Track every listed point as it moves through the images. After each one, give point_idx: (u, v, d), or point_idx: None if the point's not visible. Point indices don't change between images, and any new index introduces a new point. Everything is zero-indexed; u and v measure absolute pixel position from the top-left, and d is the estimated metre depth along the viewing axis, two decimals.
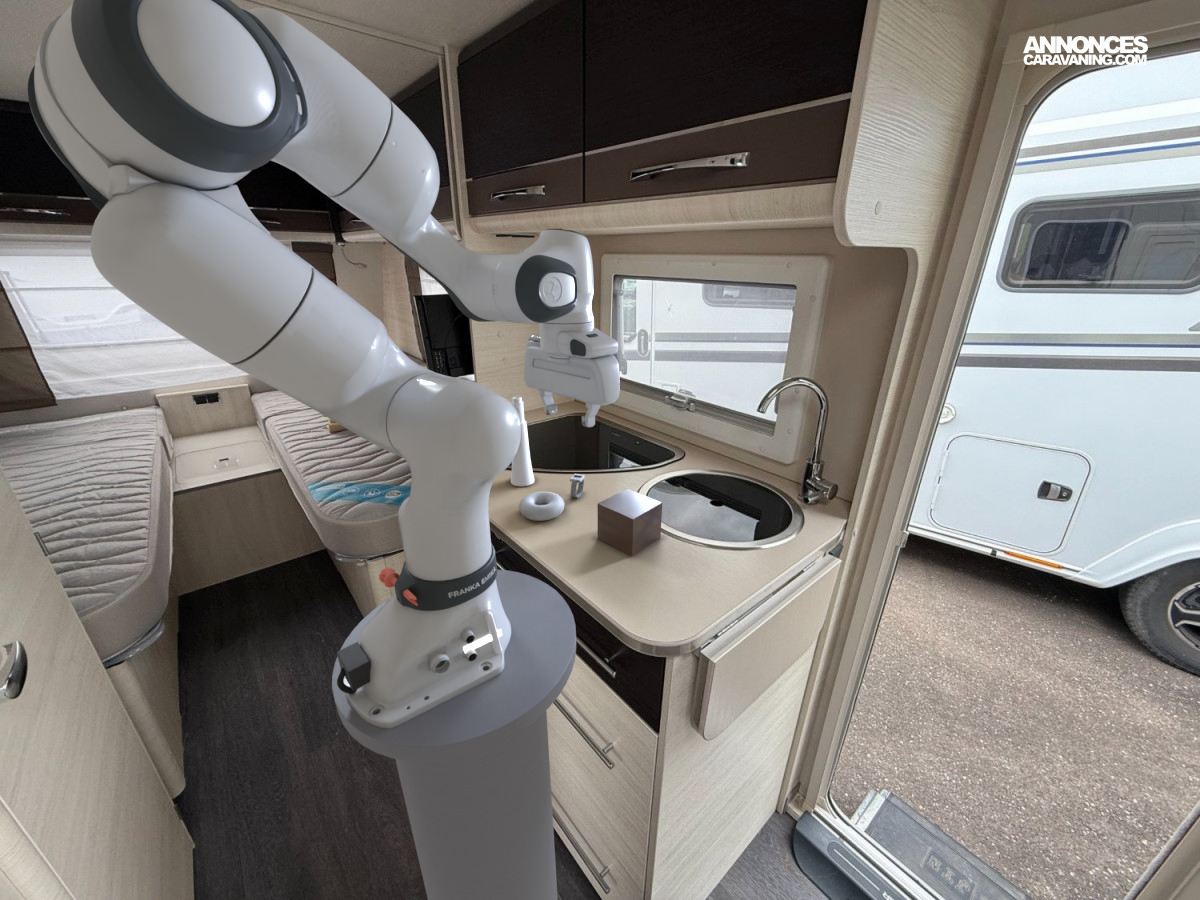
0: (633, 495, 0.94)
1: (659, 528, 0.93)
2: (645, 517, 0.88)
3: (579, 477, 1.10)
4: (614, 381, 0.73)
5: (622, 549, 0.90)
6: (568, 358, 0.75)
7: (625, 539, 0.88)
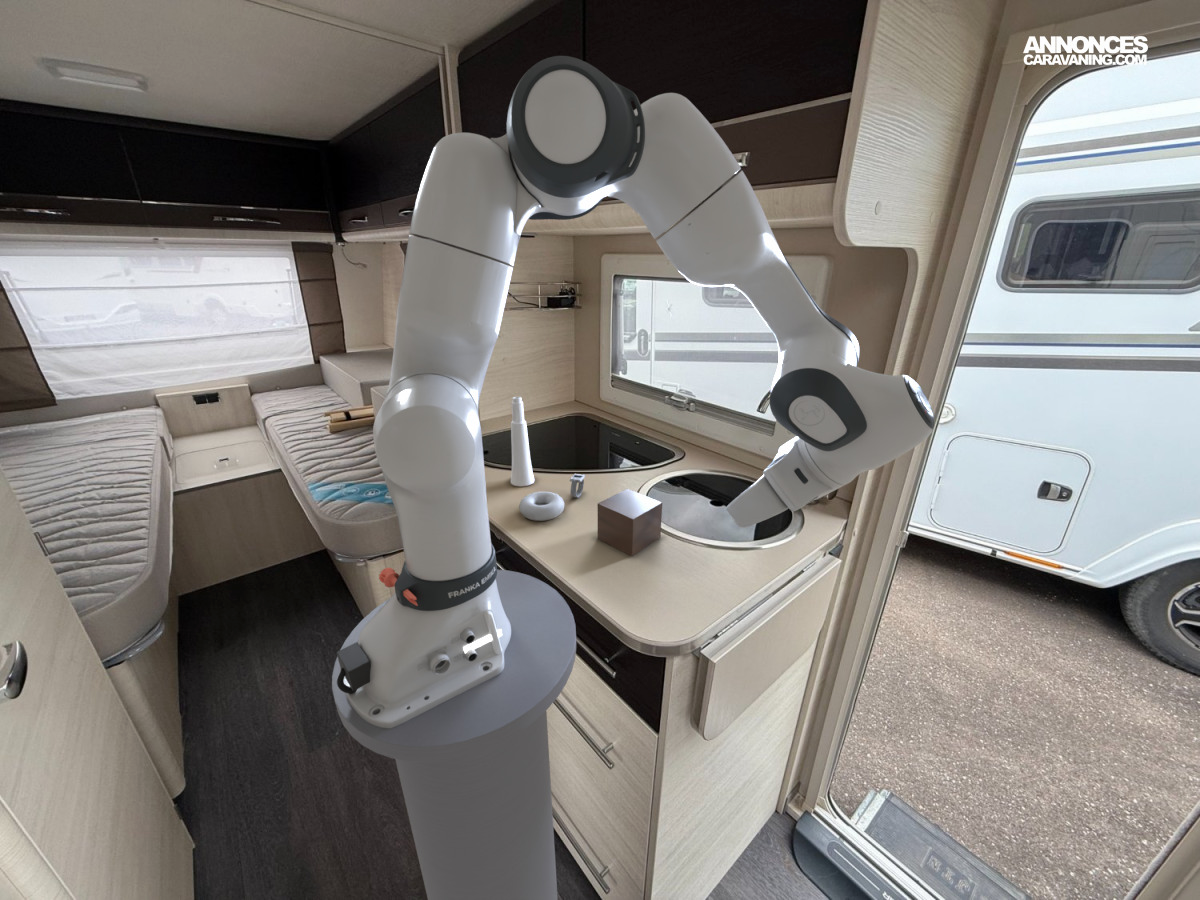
0: (633, 495, 0.94)
1: (659, 528, 0.93)
2: (645, 517, 0.88)
3: (579, 477, 1.10)
4: (752, 512, 0.62)
5: (622, 549, 0.90)
6: None
7: (625, 539, 0.88)
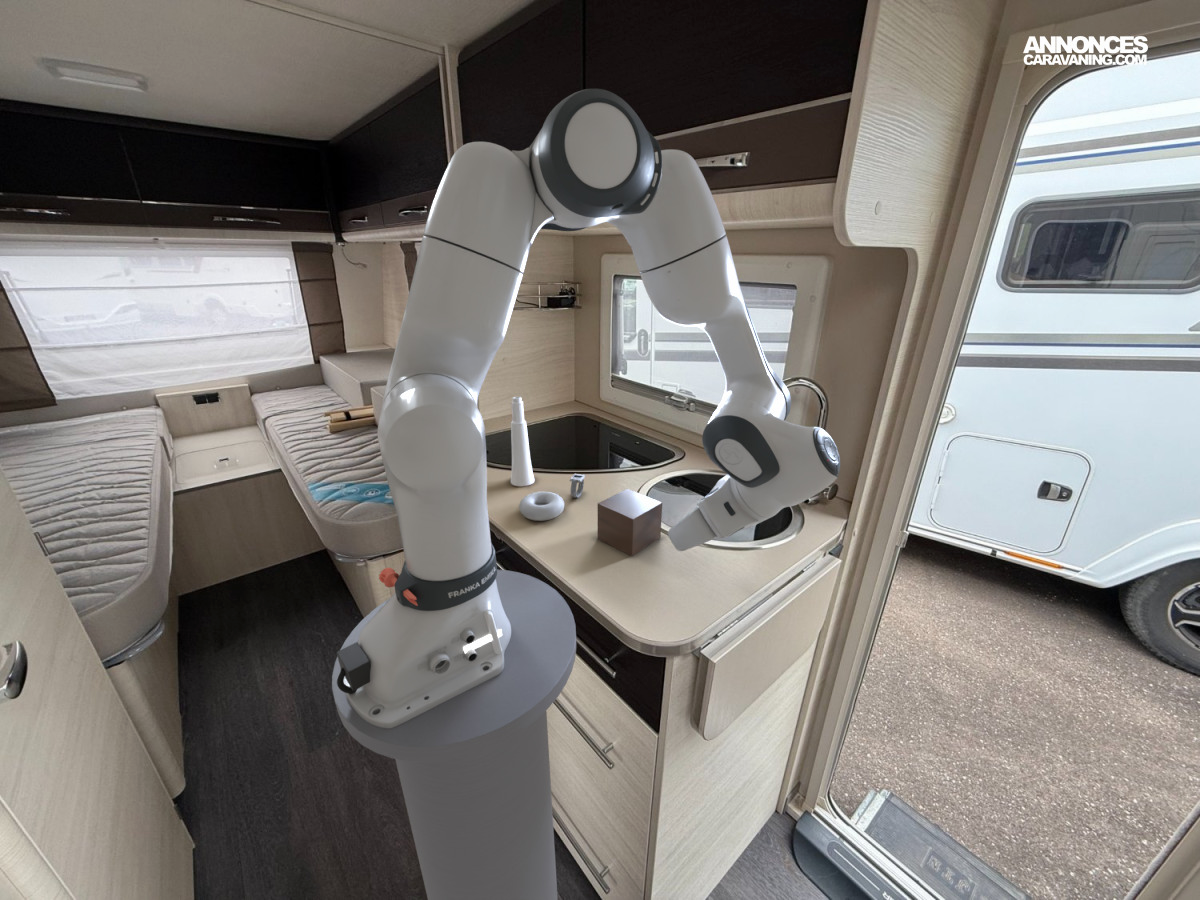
0: (633, 495, 0.94)
1: (659, 528, 0.93)
2: (645, 517, 0.88)
3: (579, 477, 1.10)
4: (687, 538, 0.70)
5: (622, 549, 0.90)
6: None
7: (625, 539, 0.88)
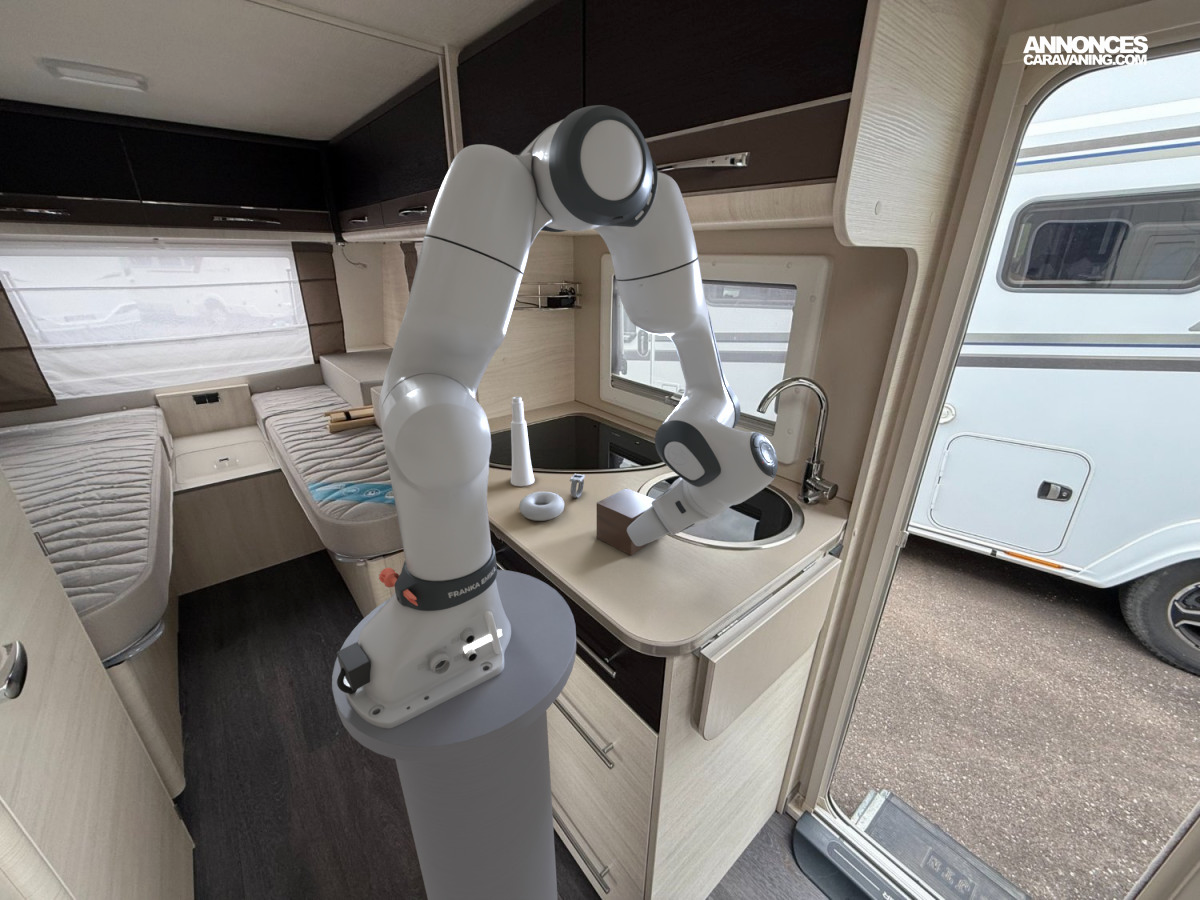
0: (632, 494, 0.94)
1: None
2: None
3: (579, 477, 1.10)
4: (643, 534, 0.77)
5: (621, 548, 0.90)
6: None
7: (624, 538, 0.88)
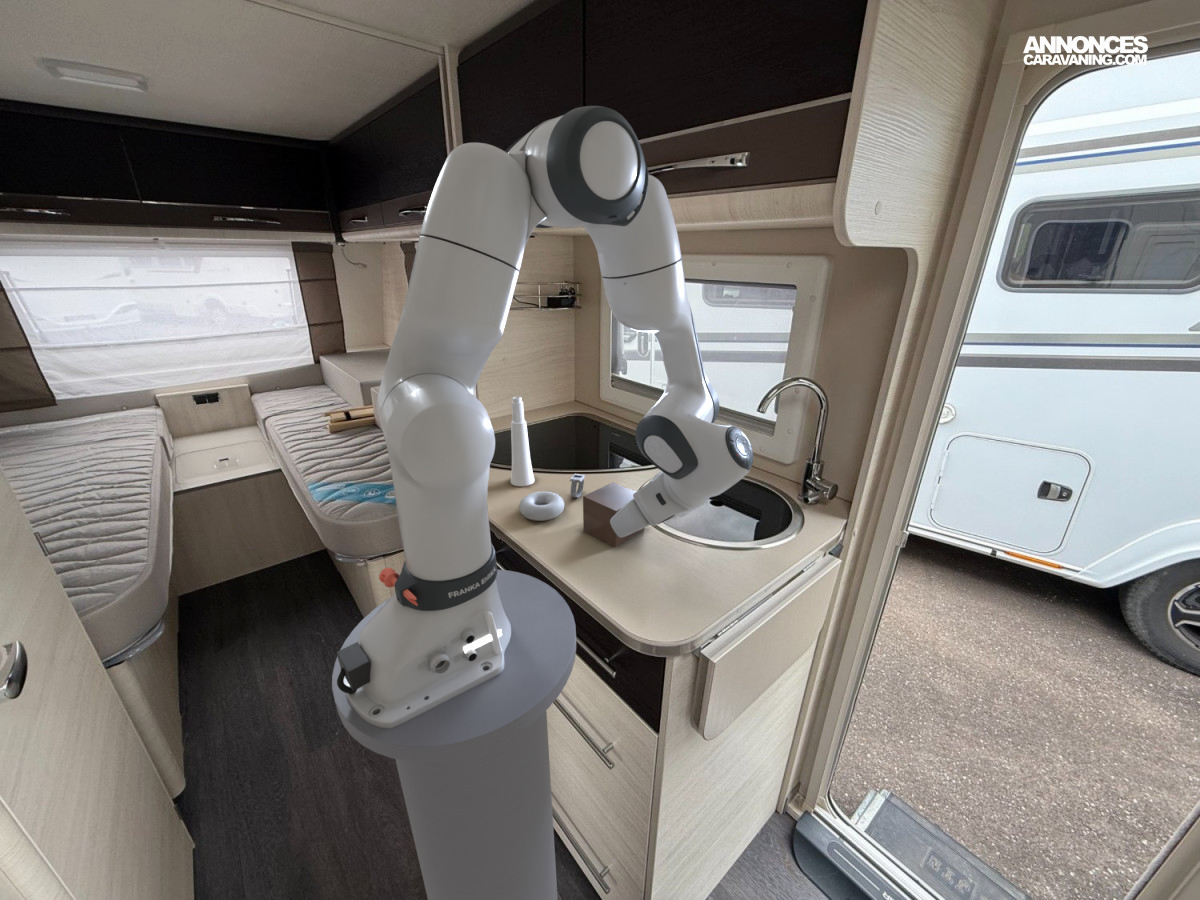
0: (618, 488, 0.97)
1: None
2: None
3: (579, 477, 1.10)
4: (625, 526, 0.79)
5: (606, 540, 0.92)
6: None
7: (609, 530, 0.91)
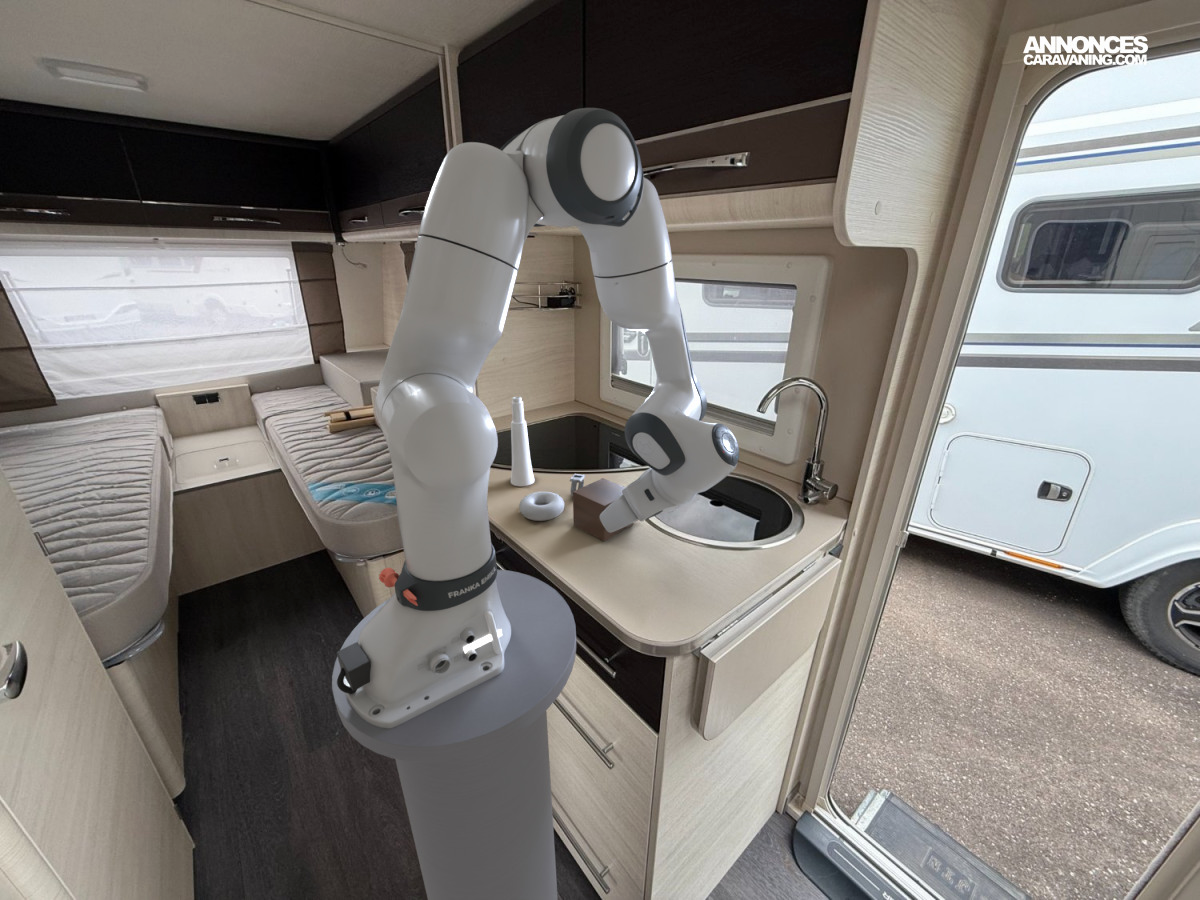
0: (608, 484, 0.99)
1: None
2: None
3: (579, 477, 1.10)
4: (614, 521, 0.81)
5: (595, 534, 0.94)
6: None
7: (598, 525, 0.93)
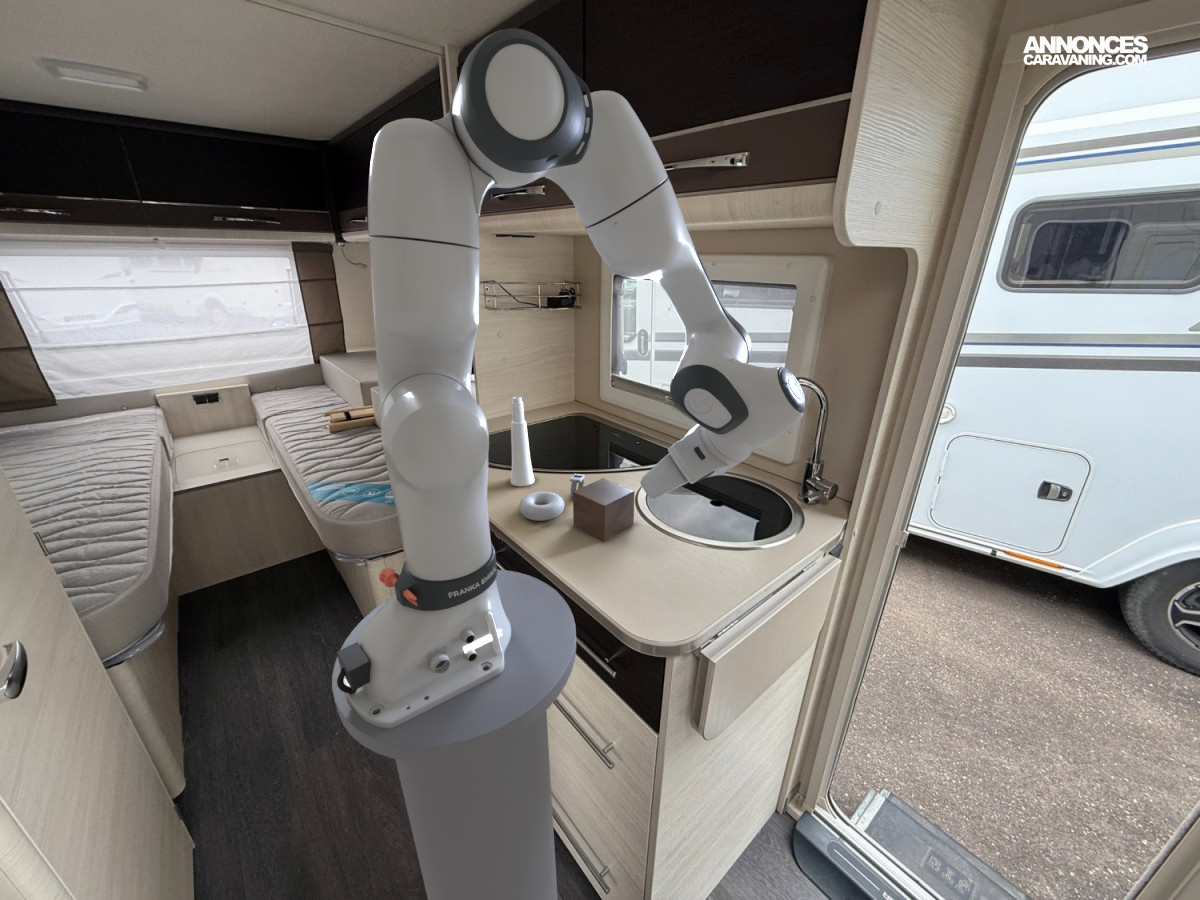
0: (608, 484, 0.99)
1: (632, 515, 0.98)
2: (617, 504, 0.93)
3: (579, 477, 1.10)
4: (659, 485, 0.71)
5: (595, 534, 0.94)
6: None
7: (598, 525, 0.93)
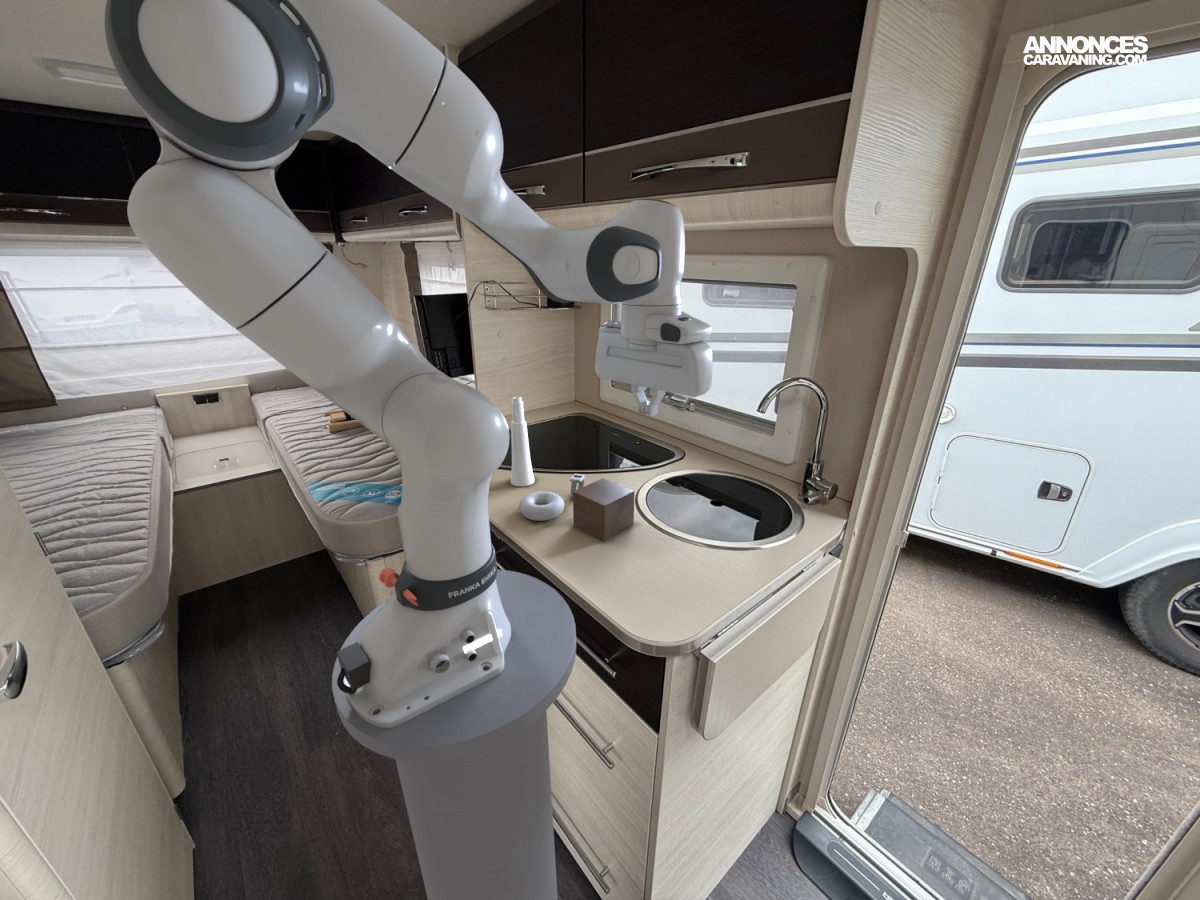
0: (608, 484, 0.99)
1: (632, 515, 0.98)
2: (617, 504, 0.93)
3: (579, 477, 1.10)
4: (707, 370, 0.65)
5: (595, 534, 0.94)
6: (654, 345, 0.67)
7: (598, 525, 0.93)
